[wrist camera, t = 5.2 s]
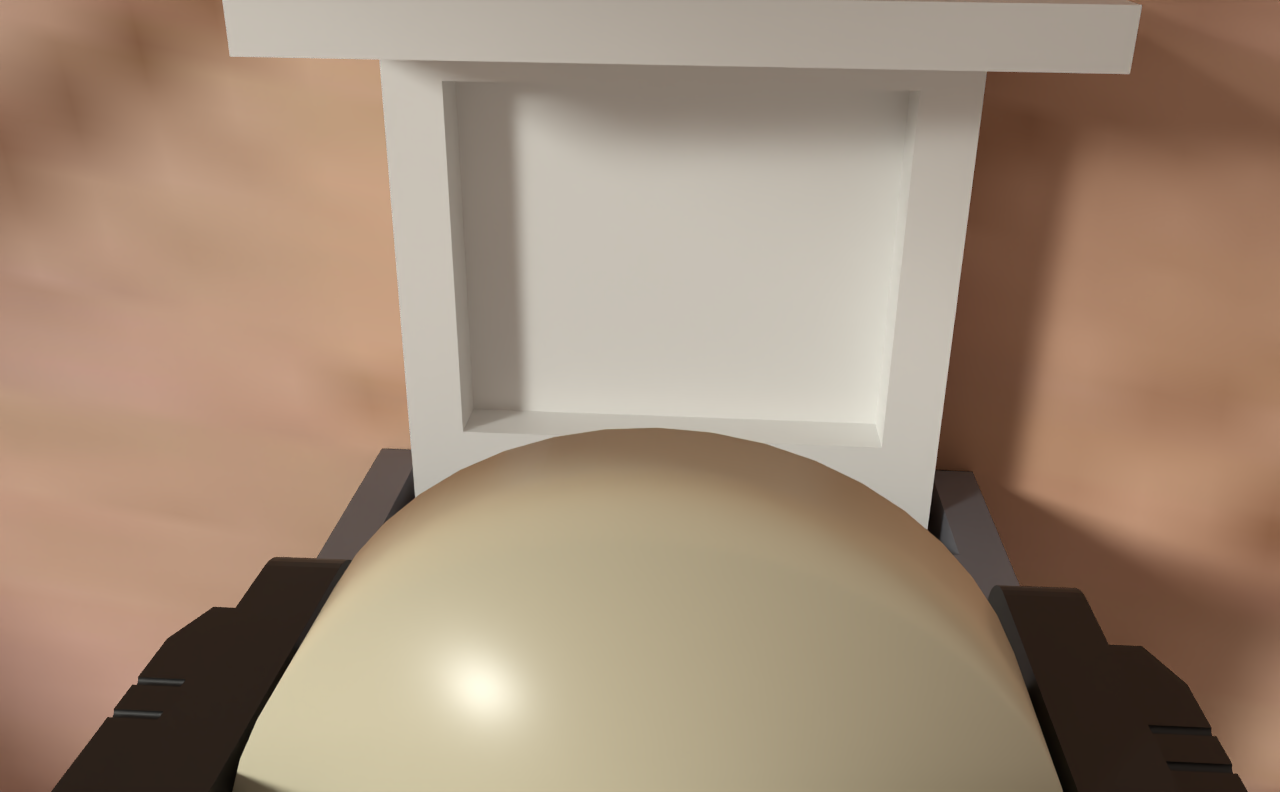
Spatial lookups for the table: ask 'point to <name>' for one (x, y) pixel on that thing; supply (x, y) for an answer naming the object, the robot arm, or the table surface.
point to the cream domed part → (651, 638)
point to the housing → (951, 521)
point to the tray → (685, 209)
